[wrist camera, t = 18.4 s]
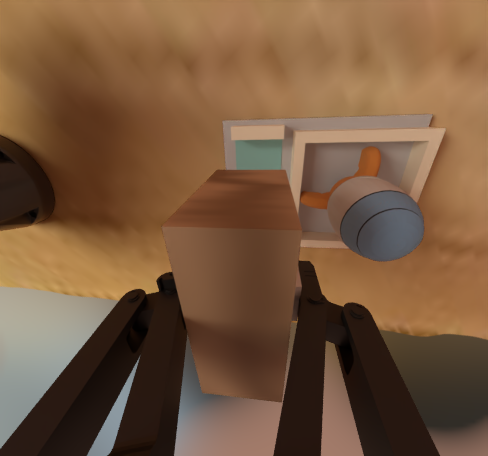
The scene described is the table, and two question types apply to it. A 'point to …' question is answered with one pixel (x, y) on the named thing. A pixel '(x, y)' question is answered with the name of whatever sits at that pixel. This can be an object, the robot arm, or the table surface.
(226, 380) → the wing block
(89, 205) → the table surface
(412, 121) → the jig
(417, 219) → the toy rocket
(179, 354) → the robot arm
